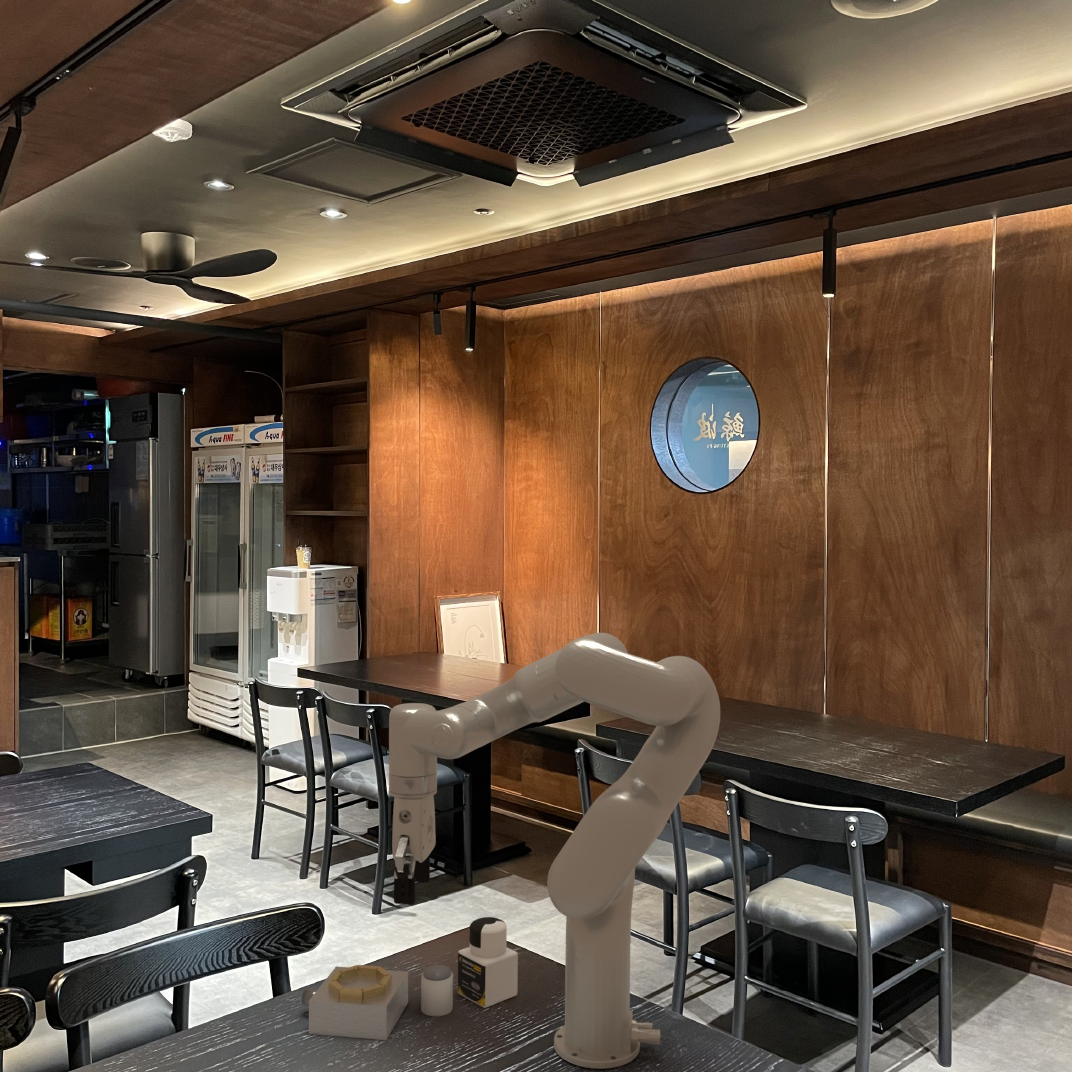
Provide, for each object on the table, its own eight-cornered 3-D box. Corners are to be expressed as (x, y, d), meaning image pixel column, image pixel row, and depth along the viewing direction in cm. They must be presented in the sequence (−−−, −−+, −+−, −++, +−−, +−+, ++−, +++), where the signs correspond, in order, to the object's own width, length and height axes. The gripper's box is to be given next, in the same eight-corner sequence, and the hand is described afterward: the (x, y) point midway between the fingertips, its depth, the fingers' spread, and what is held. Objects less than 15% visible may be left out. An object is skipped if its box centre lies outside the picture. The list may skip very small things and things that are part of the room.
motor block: (407, 1002, 161) (408, 964, 161) (386, 1040, 149) (386, 998, 149) (317, 995, 163) (318, 957, 163) (289, 1032, 151) (290, 991, 151)
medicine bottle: (456, 993, 164) (457, 920, 164) (490, 980, 169) (491, 909, 169) (484, 1009, 159) (485, 933, 159) (518, 995, 164) (519, 922, 164)
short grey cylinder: (455, 1002, 161) (456, 965, 161) (448, 1017, 156) (449, 978, 156) (425, 1000, 162) (425, 963, 162) (417, 1014, 157) (417, 976, 157)
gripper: (423, 798, 149) (423, 914, 149) (447, 771, 166) (447, 874, 166) (374, 796, 150) (373, 911, 150) (403, 769, 167) (402, 872, 167)
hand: (412, 892), depth 158 cm, fingers open, 9 cm apart
